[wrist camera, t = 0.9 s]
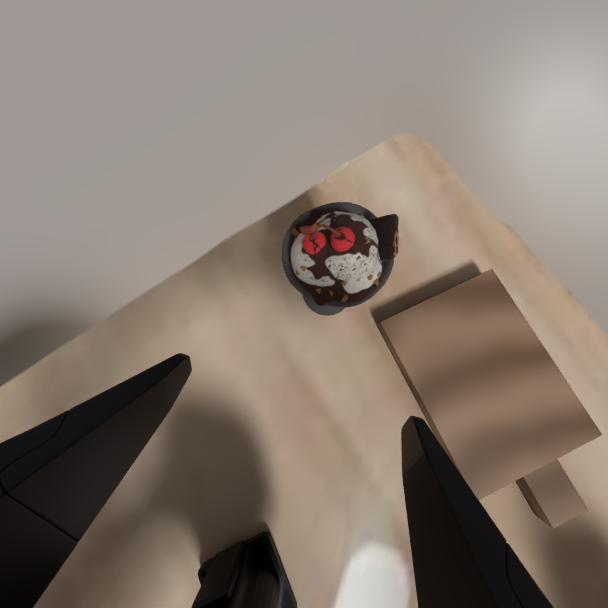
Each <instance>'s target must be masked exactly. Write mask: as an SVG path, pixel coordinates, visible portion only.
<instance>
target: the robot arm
mask: <svg viewBox="0 0 608 608" xmlns="http://www.w3.org/2000/svg"><path fill="white" fill-rule="evenodd" d="M191 370H192V367H191V361H190V357H189V356H188V355H185V354H182V353H179V354H176V355H174V356H172V357H170V358H168V359H166V360H164V361H162V362H161V363H159V364H157V365H155V366H153V367H151V368H149V369H147V370H145V371H143V372H141V373H139V374H137V375H135V376H133V377H132V378H130V379H128V380H126V381H124V382H122V383H120V384H118V385H116V386H114V387H112V388H110V389H108V390H106V391H104V392H102V393H101V394H99V395H97V396H95V397H93V398H91V399H89V400H87V401H85V402H83V403H81V404H79V405H77V406H75V407H73V408H71V409H70V411H65V412H64V413H62V414H60V415H58V416H56V417H54V418H52V419H50V420H48V421H46V422H44V423H42V424H40V425H38V426H36V427H34V428H32V429H30V430H28V431H25V432H23V433H21V434H19V435H17V436H15V437H13V438H10V439H8V440H6V441H4V442H2V443H0V608H33V607H34V605H35V604H36V603H37V601H38V600H39V598H40V597H41V595H42V594H43V592H44V591H45V590H46V588H47V587H48V585H49V584H50V582H51V581H52V580H53V578H54V577H55V575H56V574H57V572H58V571H59V569H60V568H61V567H62V565H63V564H64V562H65V561H66V559H67V558H68V557H69V555H70V554H71V552H72V551H73V549H74V548H75V546H76V545H77V544H78V541H79V540H80V539H81V538H82V536H83V535H84V533H85V532H86V530H87V529H88V527H89V526H90V525H91V523H92V522H93V520H94V519H95V517H96V516H97V514H98V513H99V512H100V510H101V509H102V507H103V506H104V504H105V503H106V502H107V500H108V499H109V497H110V496H111V494H112V493H113V491H114V490H115V489H116V487H117V486H118V484H119V483H120V481H121V480H122V479H123V477H124V476H125V474H126V473H127V471H128V470H129V468H130V467H131V466H132V464H133V463H134V461H135V460H136V458H137V457H138V456H139V454H140V453H141V451H142V450H143V448H144V447H145V445H146V444H147V443H148V441H149V440H150V438H151V437H152V435H153V434H154V433H155V431H156V430H157V428H158V427H159V425H160V424H161V422H162V421H163V420H164V418H165V417H166V415H167V414H168V412H169V411H170V409H171V408H172V406H173V404H174V403H175V401H176V399H177V397H178V395H179V394H180V392H181V390H182V388H183V386H184V385H185V383H186V381H187V379H188V377H189V376H190V374H191ZM401 441H402V477H403V486H404V494H405V503H406V511H407V519H408V527H409V535H410V543H411V551H412V559H413V568H414V576H415V584H416V592H417V600H418V608H554V607H553V606H552V604H551V603H550V602H549V600H548V599H547V598H546V596H545V595H544V594H543V592H542V591H541V590H540V588H539V587H538V585H537V584H536V583H535V581H534V580H533V578H532V577H531V575H530V574H529V573H528V571H527V570H526V568H525V567H524V565H523V564H522V563H521V561H520V560H519V558H518V557H517V555H516V554H515V552H514V551H513V549H512V548H511V547H510V545H509V544H508V543H506V539H505V538H504V536H503V535H502V534H501V532H500V531H499V529H498V528H497V526H496V525H495V523H494V522H493V520H492V519H491V517H490V516H489V515H488V513H487V512H486V510H485V509H484V507H483V506H482V504H481V503H480V501H479V500H478V498H477V497H476V496H475V494H474V493H473V491H472V490H471V488H470V487H469V485H468V484H467V482H466V481H465V479H464V478H463V477H462V475H461V474H460V472H459V471H458V469H457V468H456V466H455V465H454V463H453V462H452V460H451V459H450V458H449V456H448V455H447V453H446V452H445V450H444V449H443V447H442V446H441V444H440V443H439V441H438V440H437V438H436V437H435V436H434V434H433V433H432V431H431V430H430V428H429V427H428V425H427V424H426V422H425V421H424V420H423V419H422V418H419V417H416V416H410V417H409V418H408V420H407V421H406V423H405V424H404V425H403V427H402V431H401ZM263 539H266V540H267V542H264V541H263ZM203 570H206V573H205V572H204V571H203ZM198 577H199V580H200V584H201V588H200V590H199V592H198V594H197V596H196V598H195V600H194V603H193V605H192V608H297V605H296V602H295V600H294V597H293V594H292V592H291V589H290V586H289V584H288V581H287V578H286V575H285V573H284V570H283V567H282V565H281V562H280V559H279V556H278V554H277V551H276V548H275V546H274V543H273V540H272V537H271V535H270V533H268V532H263V533H261V534H259V535H257V536H255V537H253V538H251V539H249V540H247V541H241V542H239V543H237V544H235V545H233V546H231V547H229V548H227V549H225V550H223V551H221V552H219V553H217V554H216V555H215V557H214V558H212V559H210V560H208V561H206V562H204V563H203V564H202V565H201V567H200V569H199V571H198Z"/></svg>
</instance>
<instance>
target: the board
mask: <svg viewBox="0 0 608 608" xmlns="http://www.w3.org/2000/svg"><path fill="white" fill-rule="evenodd" d="M376 325H377V327H378V328H379V330H380V332H381V334H382V336H383V338H384V340H385V342H386V344H387V345H388V347H389V349H390V351H391V353H392V355H393V357H394V359H395V361H396V362H397V364H398V366H399V368H400V370H401V372H402V374H403V376H404V378H405V379H406V381H407V383H408V385H409V387H410V389H411V391H412V393H413V395H414V396H415V398H416V400H417V402H418V404H419V406H420V408H421V410H422V412H423V413H424V415H425V417H426V419H427V421H428V423H429V425H430V427H431V429H432V430H433V432H434V434H435V436H436V438H437V440H438V441H439V443H440V444H441V446H442V447H443V449H444V450H445V452H446V453H447V455H448V456H449V458H450V459H451V460H452V462H453V463H454V465H455V466H456V468H457V469H458V471H459V472H460V474H461V475H462V477H463V478H464V479H465V481H466V482H467V484H468V485H469V487H470V488H471V490H472V491H473V493H474V494H475V496H476V497H477V498H478V500H480V499H482V498H484V497H486V496H487V495H489V494H491V493H493V492H495V491H497V490H499V489H501V488H503V487H504V486H506V485H508V484H510V483H512V482H514V481H516V482H517V484H518V486H519V487H520V489H521V491H522V493H523V494H524V496H525V498H526V500H527V501H528V503H529V505H530V507H531V508H532V510H533V512H534V514H535V515H536V516H537V517H539V518H540V519H541V520H543V521H544V522H545V523H546V524H548V525H549V526H550V527H552V528H553V529H554V528H556V527H558V526H560V525H562V524H564V523H565V522H567V521H569V520H571V519H573V518H575V517H576V516H578V515H580V514H582V513H584V512H586V511H588V509H587V507H586V505H585V504H584V502H583V500H582V499H581V497H580V496H579V494H578V492H577V491H576V489H575V487H574V486H573V484H572V483H571V481H570V479H569V478H568V476H567V474H566V473H565V471H564V470H563V468H562V466H561V465H560V463H559V461H558V460H557V458H559V457H561V456H563V455H565V454H567V453H569V452H571V451H573V450H574V449H576V448H578V447H580V446H582V445H584V444H586V443H588V442H590V441H591V440H593V439H595V438H597V437H599V436H601V435H602V434H601V432H600V431H599V429H598V428H597V426H596V425H595V423H594V422H593V420H592V419H591V417H590V416H589V414H588V413H587V411H586V410H585V408H584V407H583V405H582V404H581V402H580V401H579V399H578V397H577V396H576V394H575V393H574V391H573V390H572V388H571V387H570V385H569V384H568V382H567V381H566V379H565V378H564V376H563V375H562V373H561V372H560V370H559V369H558V367H557V366H556V364H555V363H554V361H553V360H552V358H551V357H550V355H549V354H548V352H547V351H546V349H545V348H544V346H543V345H542V343H541V342H540V340H539V339H538V337H537V336H536V334H535V333H534V331H533V330H532V328H531V327H530V325H529V324H528V322H527V321H526V319H525V318H524V316H523V315H522V313H521V312H520V310H519V308H518V307H517V305H516V304H515V302H514V301H513V299H512V298H511V296H510V295H509V293H508V292H507V290H506V289H505V287H504V286H503V284H502V283H501V281H500V280H499V278H498V277H497V275H496V274H495V272H494V271H493V269H491V270H488V271H486V272H484V273H481V274H479V275H477V276H475V277H473V278H471V279H469V280H467V281H465V282H462V283H460V284H458V285H456V286H454V287H452V288H450V289H448V290H446V291H444V292H441V293H439V294H437V295H435V296H433V297H431V298H429V299H427V300H425V301H423V302H420V303H418V304H416V305H414V306H412V307H410V308H408V309H406V310H404V311H402V312H399V313H397V314H395V315H393V316H391V317H389V318H387V319H385V320H383V321H381V322H378V323H376Z"/></svg>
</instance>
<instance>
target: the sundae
mask: <svg viewBox="0 0 608 608" xmlns="http://www.w3.org/2000/svg"><path fill="white" fill-rule="evenodd" d="M398 241H399V235H398V216H397V215H396V214H391V215H386V216H382V217H378V218H377V217H376V216H375V215H374V214H373V213H371V212H370V211H369V210H368V209H366V208H364V207H361V206H359V205H356V204H353V203H348V202H337V203H330V204H326V205H322V206H319V207H317V208H314V209H311V210H309V211H307V212H305V213H304V214H302V215H301V216H299V217H298V218H297V219H296V220H295V221H294V222H293V223H292V225H291V226H290V228H289V230H288V232H287V234H286V236H285V239H284V243H283V250H282V261H283V266H284V270H285V273H286V276H287V277H288V279H289V281H290V283H291V284H292V285H293V286H294V287H295V288H296V289H297V290H298V291H300V292H301V293H302V294H303V296H304V300H305V302H306V304H307V305H308V307H309V308H310V309H311V310H312V311H314V312H316V313H318V314H321V315H334V314H337V313H339V312H341V311H342V310H343V309H344V308H345V307H351V306H356V305H358V304H361V303H363V302H365V301H367V300H368V299H370V298H371V297H373V296H374V295H375V294H376V293H377V292H378V291H379V290H380V289H381V288H382V286H383V285H384V284H385V283H386V281H387V279H388V277H389V275H390V273H391V270H392V267H393V264H394V257H396V256H397V253H398Z"/></svg>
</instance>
